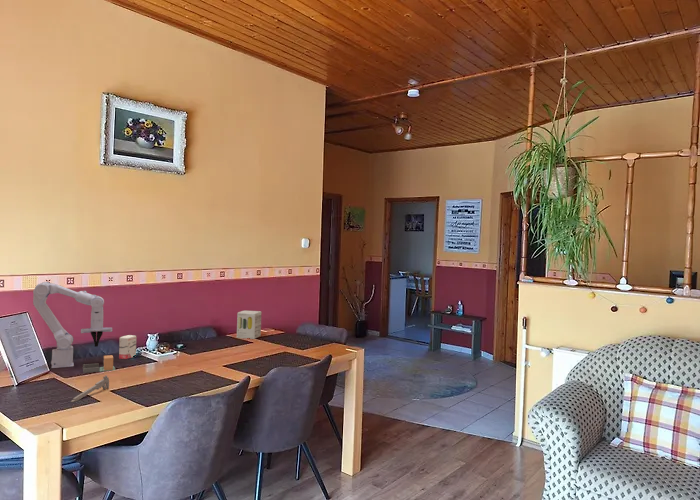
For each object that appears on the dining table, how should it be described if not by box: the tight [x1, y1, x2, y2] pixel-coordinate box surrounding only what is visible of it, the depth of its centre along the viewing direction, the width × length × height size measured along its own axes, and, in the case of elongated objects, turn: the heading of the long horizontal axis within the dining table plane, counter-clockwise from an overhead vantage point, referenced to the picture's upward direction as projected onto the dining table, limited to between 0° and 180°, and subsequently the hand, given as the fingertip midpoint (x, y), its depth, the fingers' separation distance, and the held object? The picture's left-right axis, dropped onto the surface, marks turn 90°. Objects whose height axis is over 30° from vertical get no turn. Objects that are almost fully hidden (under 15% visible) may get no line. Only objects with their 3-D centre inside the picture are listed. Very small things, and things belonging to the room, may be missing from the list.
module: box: [102, 354, 114, 372], centre depth 245 cm, size 4×6×6 cm, turn 29°
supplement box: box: [236, 310, 263, 340], centre depth 342 cm, size 13×13×18 cm
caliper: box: [70, 374, 110, 403], centre depth 205 cm, size 20×1×6 cm, turn 167°
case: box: [82, 362, 101, 374], centre depth 244 cm, size 7×15×2 cm, turn 30°
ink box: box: [118, 334, 137, 360], centre depth 270 cm, size 9×5×12 cm, turn 168°
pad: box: [99, 365, 116, 372], centre depth 245 cm, size 7×9×1 cm
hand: (96, 346), depth 254 cm, fingers closed
